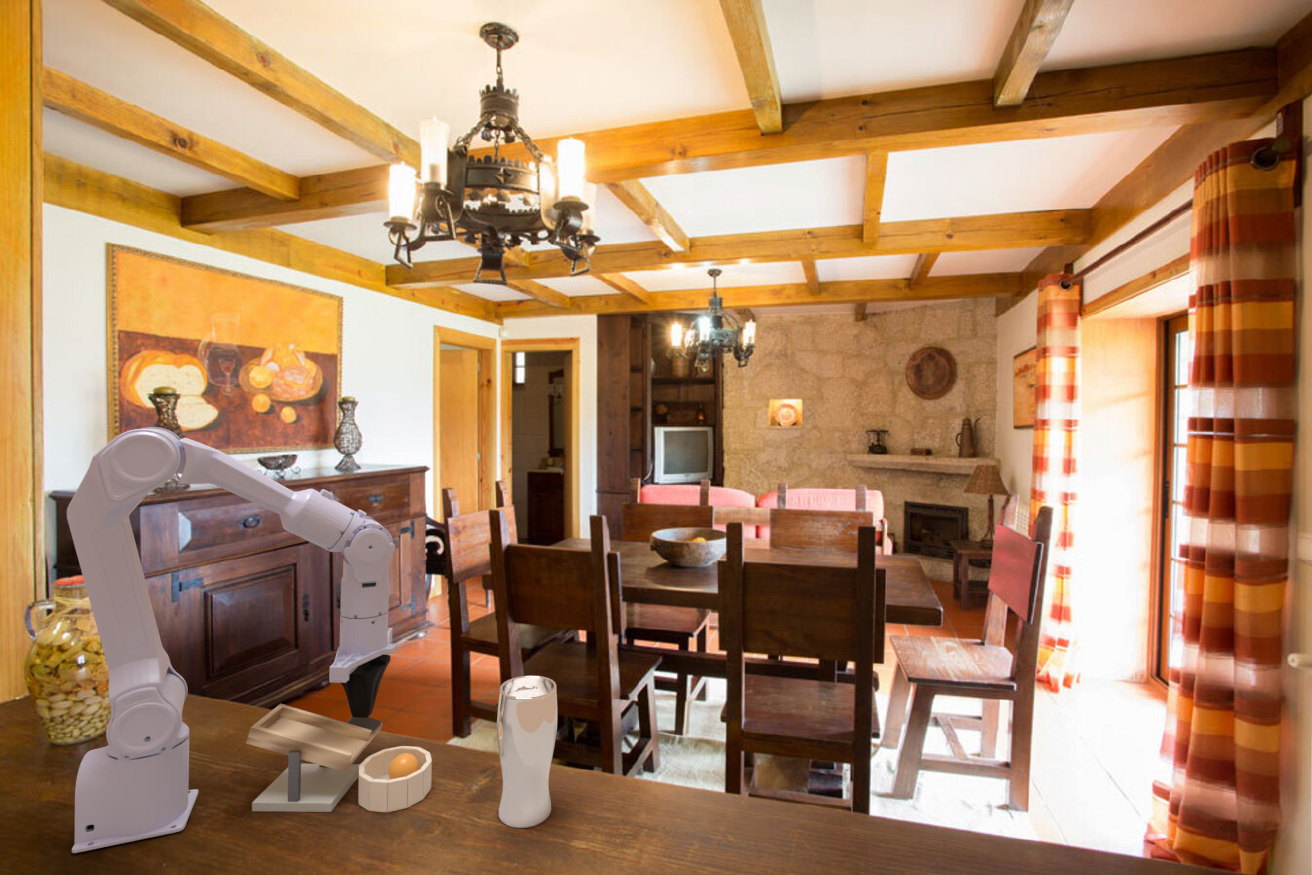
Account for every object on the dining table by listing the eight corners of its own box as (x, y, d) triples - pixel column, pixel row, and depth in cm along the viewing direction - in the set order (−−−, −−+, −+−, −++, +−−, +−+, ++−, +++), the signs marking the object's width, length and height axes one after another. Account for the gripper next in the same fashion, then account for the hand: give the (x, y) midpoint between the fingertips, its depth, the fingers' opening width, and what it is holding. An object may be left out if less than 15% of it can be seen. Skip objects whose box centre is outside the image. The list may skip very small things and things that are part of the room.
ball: (392, 758, 76) (405, 786, 75) (416, 743, 79) (429, 770, 79) (377, 768, 78) (390, 796, 77) (402, 753, 81) (414, 779, 80)
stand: (251, 811, 73) (253, 753, 73) (291, 771, 81) (292, 719, 81) (330, 811, 73) (332, 754, 73) (362, 771, 82) (363, 720, 82)
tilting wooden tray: (245, 743, 74) (250, 727, 74) (294, 703, 84) (298, 689, 84) (345, 771, 74) (350, 755, 74) (381, 728, 85) (385, 714, 85)
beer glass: (548, 832, 71) (552, 700, 70) (487, 829, 71) (490, 698, 71) (559, 795, 78) (562, 675, 77) (503, 793, 78) (506, 673, 78)
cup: (358, 818, 72) (359, 788, 72) (357, 781, 80) (358, 753, 79) (434, 801, 76) (434, 773, 76) (426, 767, 83) (427, 741, 83)
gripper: (372, 631, 75) (369, 743, 76) (414, 597, 90) (412, 692, 90) (312, 629, 75) (309, 742, 75) (364, 596, 90) (362, 691, 90)
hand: (362, 715), depth 83 cm, fingers closed
